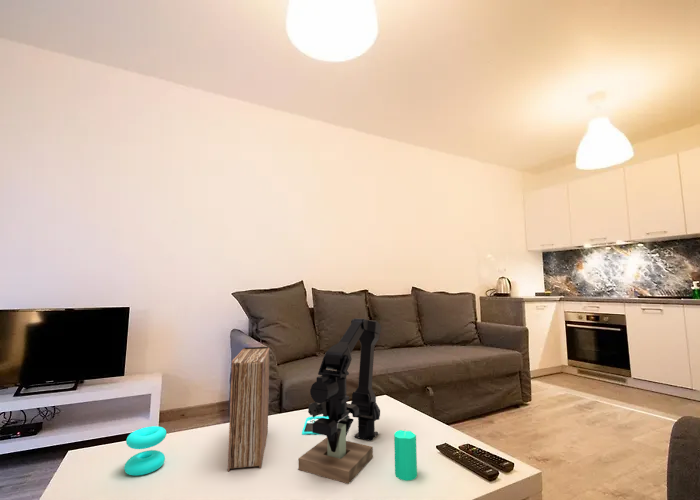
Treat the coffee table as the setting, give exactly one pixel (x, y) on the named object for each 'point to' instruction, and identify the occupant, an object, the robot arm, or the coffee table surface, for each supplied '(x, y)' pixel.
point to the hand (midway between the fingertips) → (337, 448)
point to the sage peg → (339, 444)
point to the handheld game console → (308, 425)
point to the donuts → (146, 459)
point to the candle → (405, 455)
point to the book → (249, 407)
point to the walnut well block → (336, 461)
